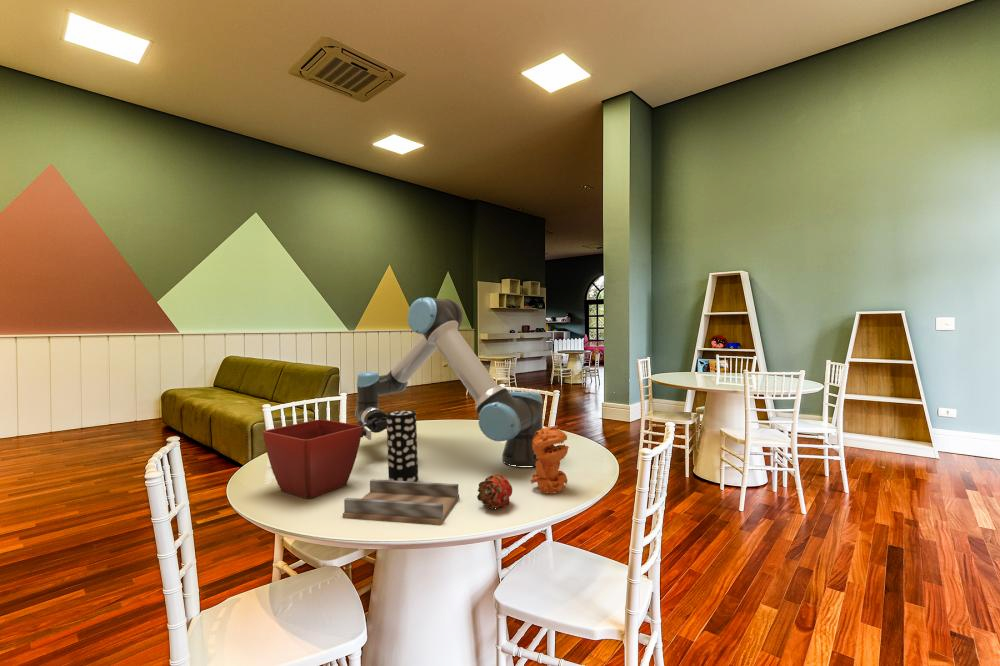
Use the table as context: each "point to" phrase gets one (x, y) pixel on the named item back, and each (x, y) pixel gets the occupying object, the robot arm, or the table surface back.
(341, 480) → the plant pot
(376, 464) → the table surface
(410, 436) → the spotted tube
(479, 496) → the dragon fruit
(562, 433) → the toy dinosaur
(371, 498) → the track
